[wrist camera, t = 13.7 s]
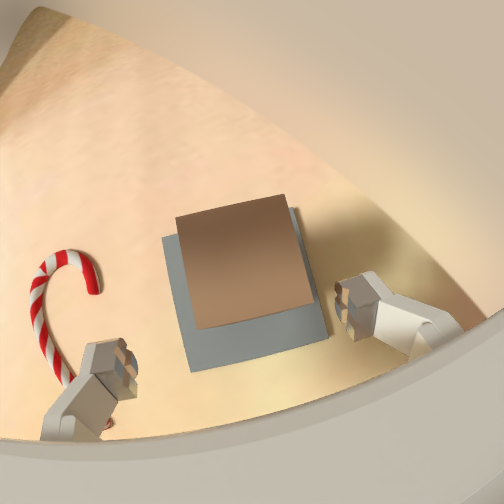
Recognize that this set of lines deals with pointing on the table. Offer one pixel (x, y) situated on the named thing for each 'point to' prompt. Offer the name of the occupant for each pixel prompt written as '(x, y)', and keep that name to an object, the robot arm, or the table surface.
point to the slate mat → (246, 332)
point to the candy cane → (36, 306)
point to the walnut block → (242, 262)
